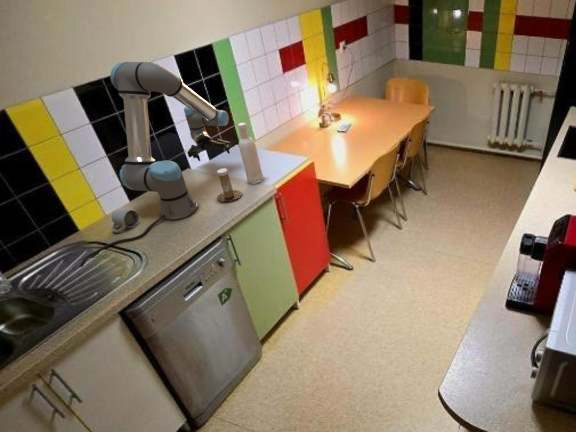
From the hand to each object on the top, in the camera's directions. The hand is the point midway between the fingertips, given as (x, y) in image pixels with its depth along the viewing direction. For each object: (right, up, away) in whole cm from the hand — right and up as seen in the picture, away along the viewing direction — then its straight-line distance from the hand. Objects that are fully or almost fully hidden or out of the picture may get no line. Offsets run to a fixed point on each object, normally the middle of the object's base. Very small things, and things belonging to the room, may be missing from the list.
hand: (213, 154), depth 196 cm
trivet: (+6, -20, +3) cm, 21 cm away
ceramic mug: (-32, -34, -14) cm, 49 cm away
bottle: (+15, -11, +17) cm, 25 cm away
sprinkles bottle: (+6, -19, +3) cm, 21 cm away
